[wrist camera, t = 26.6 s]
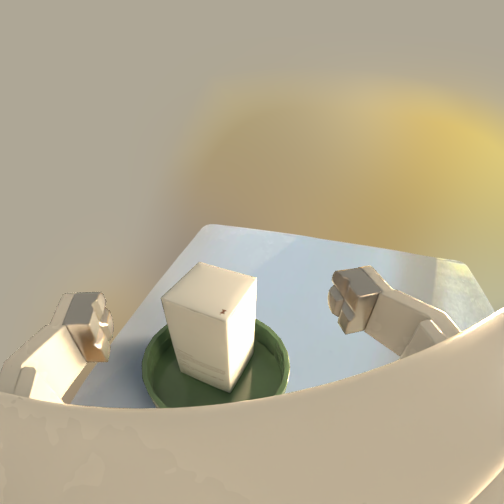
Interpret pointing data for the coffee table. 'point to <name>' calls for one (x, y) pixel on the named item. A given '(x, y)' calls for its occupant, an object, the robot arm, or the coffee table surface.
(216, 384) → the white packaging box
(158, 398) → the bowl
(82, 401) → the coffee table surface
